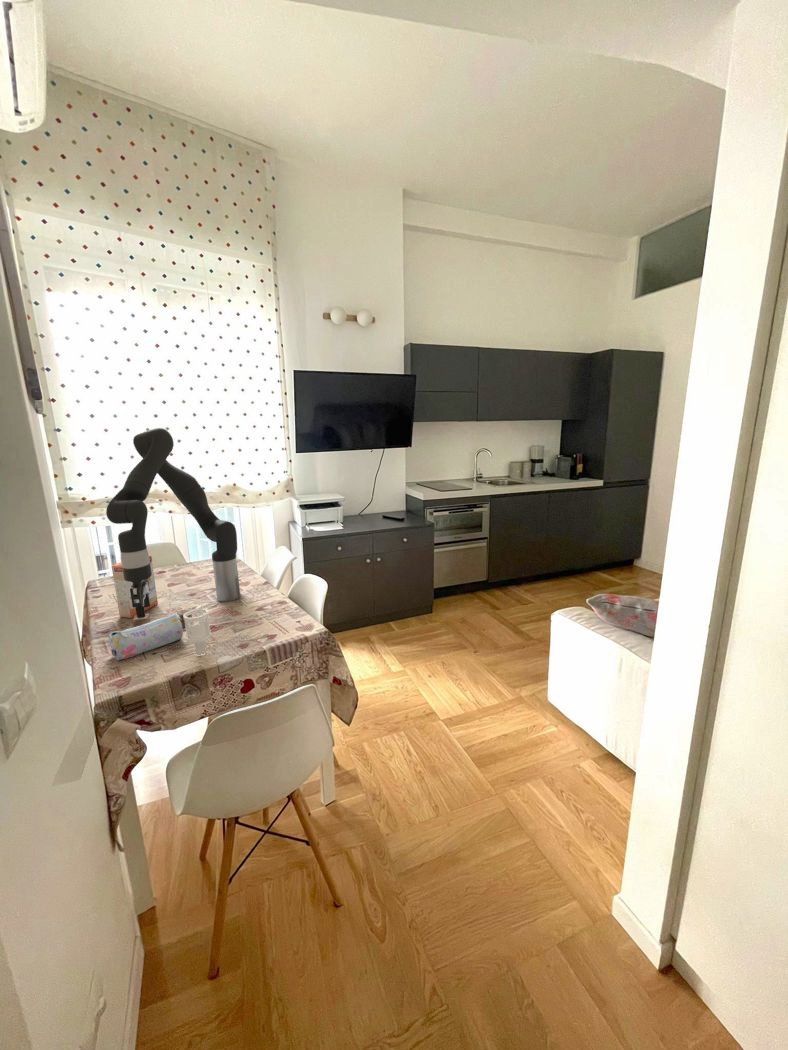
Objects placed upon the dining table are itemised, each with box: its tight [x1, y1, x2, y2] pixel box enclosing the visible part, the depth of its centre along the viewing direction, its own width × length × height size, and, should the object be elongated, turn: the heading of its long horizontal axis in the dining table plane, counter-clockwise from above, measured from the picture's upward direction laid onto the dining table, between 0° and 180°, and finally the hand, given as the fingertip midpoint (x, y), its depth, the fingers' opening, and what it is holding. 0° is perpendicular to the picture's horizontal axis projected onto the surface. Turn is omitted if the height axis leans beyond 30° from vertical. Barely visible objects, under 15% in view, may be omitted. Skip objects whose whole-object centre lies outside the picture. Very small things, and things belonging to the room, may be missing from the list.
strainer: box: [183, 605, 212, 655], centre depth 134 cm, size 7×7×15 cm
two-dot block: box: [176, 608, 193, 627], centre depth 157 cm, size 4×4×5 cm
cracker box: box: [111, 555, 159, 619], centre depth 167 cm, size 14×6×21 cm, turn 168°
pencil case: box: [108, 613, 184, 661], centre depth 139 cm, size 21×9×10 cm, turn 133°
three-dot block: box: [132, 612, 152, 627], centre depth 154 cm, size 4×4×5 cm
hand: (144, 612), depth 137 cm, fingers open, 8 cm apart
